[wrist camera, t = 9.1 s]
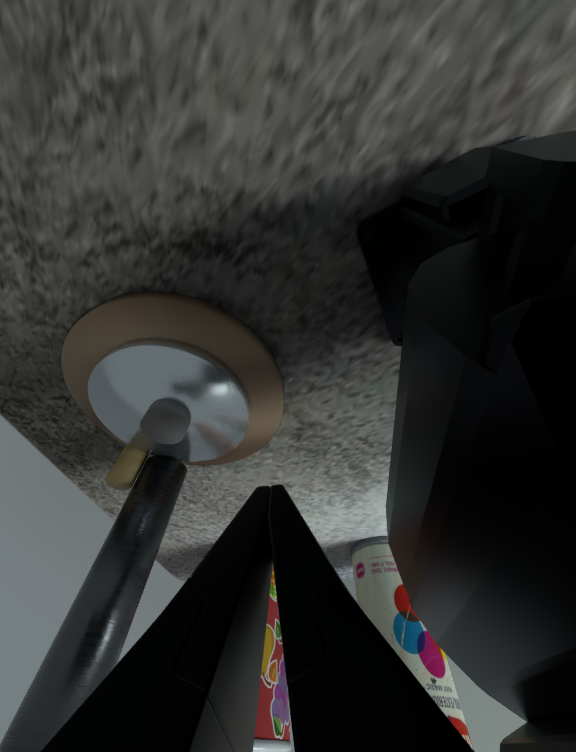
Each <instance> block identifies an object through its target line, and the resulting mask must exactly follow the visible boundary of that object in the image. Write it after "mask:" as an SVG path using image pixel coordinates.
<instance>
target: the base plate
mask: <svg viewBox="0 0 576 752" xmlns="http://www.w3.org/2000/svg"><path fill="white" fill-rule="evenodd" d="M141 338H167V339H174V340H178V341H183V342H186V343H189V344H192V345H195V346H197V347H199V348H201V349H204V350H206V351H207V352H209V353H211V354H213V355H214V356H216V357H217V358H219V359H220V360H221V361H223V362H224V363H225V364H226V365H227V366H229V367H230V368H231V369H232V370H233V371H234V372H235V374H236V375H237V376H238V377H239V379H240V380H241V381H242V383H243V384H244V386H245V388H246V390H247V393H248V396H249V399H250V406H251V409H250V418H249V423H248V427H247V432H246V434H245V436H244V438H243V440H242V441H241V443H240V444H239V445H238V446H237V447H236V448H235V449H233V450H232V451H231V452H229V453H227V454H225V455H223V456H220V457H218V458H215V459H211V460H205V461H195V462H185V464H186V465H204V466H205V465H218V464H225V463H229V462H233V461H237V460H240V459H243V458H245V457H247V456H249V455H251V454H253V453H255V452H257V451H258V450H260V449H261V448H262V447H263V446H265V445H266V444H267V443H268V442H269V441H270V440H271V438H272V437H273V436H274V435H275V433H276V431H277V429H278V428H279V425H280V422H281V419H282V415H283V408H284V384H283V379H282V375H281V372H280V370H279V367H278V364H277V363H276V361H275V359H274V357H273V355H272V354H271V352H270V351H269V349H268V348H267V347H266V345H265V344H264V343H263V342H262V340H261V339H260V338H259V337H258V336H257V335H256V334H255V333H254V332H253V331H252V330H251V329H249V328H248V327H247V326H246V325H245V324H243V323H242V322H241V321H240V320H238V319H236V318H235V317H233V316H232V315H230V314H229V313H227V312H225V311H223V310H222V309H220V308H218V307H216V306H214V305H212V304H209V303H206V302H204V301H201V300H198V299H196V298H192V297H188V296H184V295H180V294H175V293H168V292H136V293H129V294H125V295H121V296H118V297H114V298H112V299H110V300H108V301H106V302H104V303H102V304H100V305H99V306H97V307H96V308H94V309H93V310H92V311H90V312H89V313H87V314H86V315H85V316H83V317H82V318H81V319H79V320H78V321H77V323H76V324H75V325H74V326H73V327H72V328H71V329H70V331H69V333H68V335H67V337H66V338H65V341H64V344H63V348H62V355H61V366H62V373H63V377H64V380H65V383H66V386H67V388H68V390H69V392H70V394H71V396H72V397H73V399H74V401H75V402H76V404H77V405H78V406H79V408H80V409H81V410H82V411H83V413H84V414H85V415H86V416H87V417H88V418H89V419H90V420H91V421H92V422H93V423H94V424H95V425H96V426H98V427H99V428H100V429H101V430H102V431H104V432H105V433H106V434H108V435H109V436H111V437H112V438H114V439H115V440H117V441H119V442H120V443H122V444H124V445H125V447H124V449H123V451H122V452H121V454H120V455H119V457H118V459H117V460H116V462H115V463H114V465H113V467H112V468H111V470H110V472H109V473H108V475H107V476H106V478H105V481H106V482H107V484H109V485H110V486H112V487H114V488H117V489H122V490H126V489H130V488H131V487H132V486H133V484H134V482H135V480H136V478H137V476H138V474H139V472H140V470H141V468H142V466H143V464H144V463H145V461H146V459H147V457H148V456H152V455H151V454H148V453H145V452H143V451H140V450H138V449H136V448H134V447H132V446H131V445H129V444H127V443H126V442H124V441H122V440H121V439H120V438H118V437H117V436H116V435H114V434H113V433H112V432H111V431H110V430H109V429H108V428H107V427H106V426H105V425H104V424H103V423H102V422H101V421H100V419H99V418H98V417H97V415H96V414H95V412H94V410H93V408H92V406H91V404H90V400H89V397H88V380H89V377H90V375H91V373H92V371H93V369H94V368H95V366H96V365H97V364H98V363H99V362H100V361H101V360H102V359H103V358H104V357H105V356H106V355H107V354H108V353H109V352H110V351H111V350H113V349H114V348H116V347H117V346H119V345H121V344H123V343H125V342H128V341H132V340H135V339H141ZM190 422H191V416H190V413H189V412H188V411H187V409H186V408H185V407H183V406H182V405H180V404H178V403H176V402H173V401H169V400H159V401H155V402H153V403H152V404H151V405H150V407H149V408H148V410H147V412H146V413H145V415H144V416H143V418H142V420H141V421H140V428H141V430H142V432H143V433H144V434H145V435H146V436H147V437H148V438H150V439H151V440H153V441H156V442H158V443H162V444H175V443H178V442H180V441H182V440H183V438H184V436H185V434H186V432H187V429H188V427H189V424H190Z"/></svg>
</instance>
